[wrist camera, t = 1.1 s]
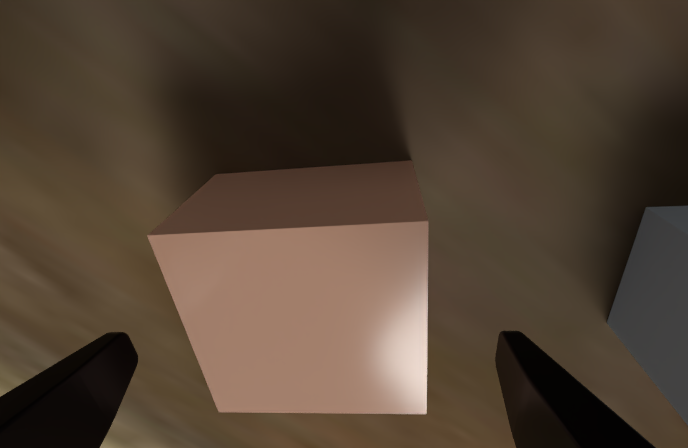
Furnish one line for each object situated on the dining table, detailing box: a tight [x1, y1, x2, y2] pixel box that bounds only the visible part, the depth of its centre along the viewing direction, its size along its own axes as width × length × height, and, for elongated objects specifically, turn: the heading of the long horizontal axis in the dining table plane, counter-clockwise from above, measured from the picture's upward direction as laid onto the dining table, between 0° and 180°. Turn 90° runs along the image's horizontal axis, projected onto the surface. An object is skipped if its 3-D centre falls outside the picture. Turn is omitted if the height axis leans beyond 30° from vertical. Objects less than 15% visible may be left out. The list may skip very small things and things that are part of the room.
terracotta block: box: [147, 160, 428, 414], centre depth 11 cm, size 6×6×4 cm
